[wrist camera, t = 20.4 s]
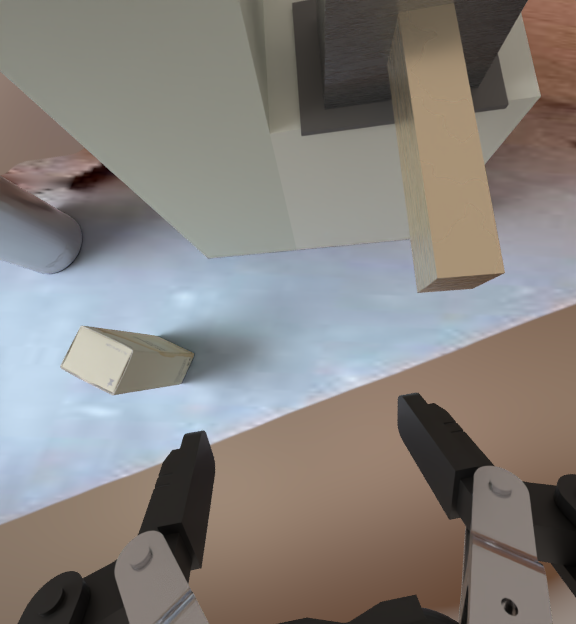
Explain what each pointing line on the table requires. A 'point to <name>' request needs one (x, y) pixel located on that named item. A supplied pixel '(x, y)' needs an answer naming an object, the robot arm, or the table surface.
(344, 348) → the table surface
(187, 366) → the skincare box
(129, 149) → the stepped stand
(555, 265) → the table surface
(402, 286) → the table surface
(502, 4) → the mallet
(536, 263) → the table surface
